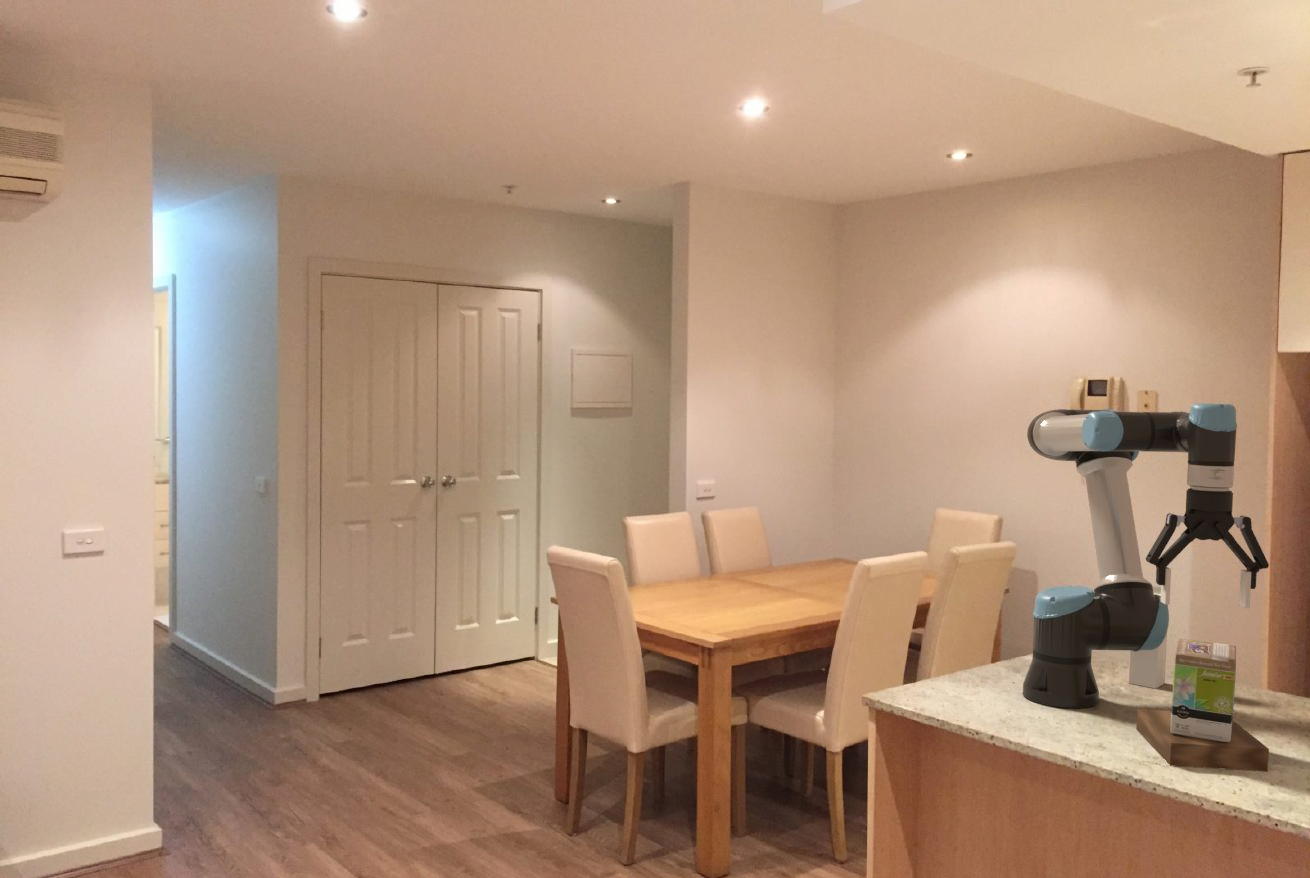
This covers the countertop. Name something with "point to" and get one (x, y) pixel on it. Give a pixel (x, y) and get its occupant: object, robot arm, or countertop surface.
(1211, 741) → the walnut plinth
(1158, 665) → the milk
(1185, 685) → the tea box
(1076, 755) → the countertop surface
